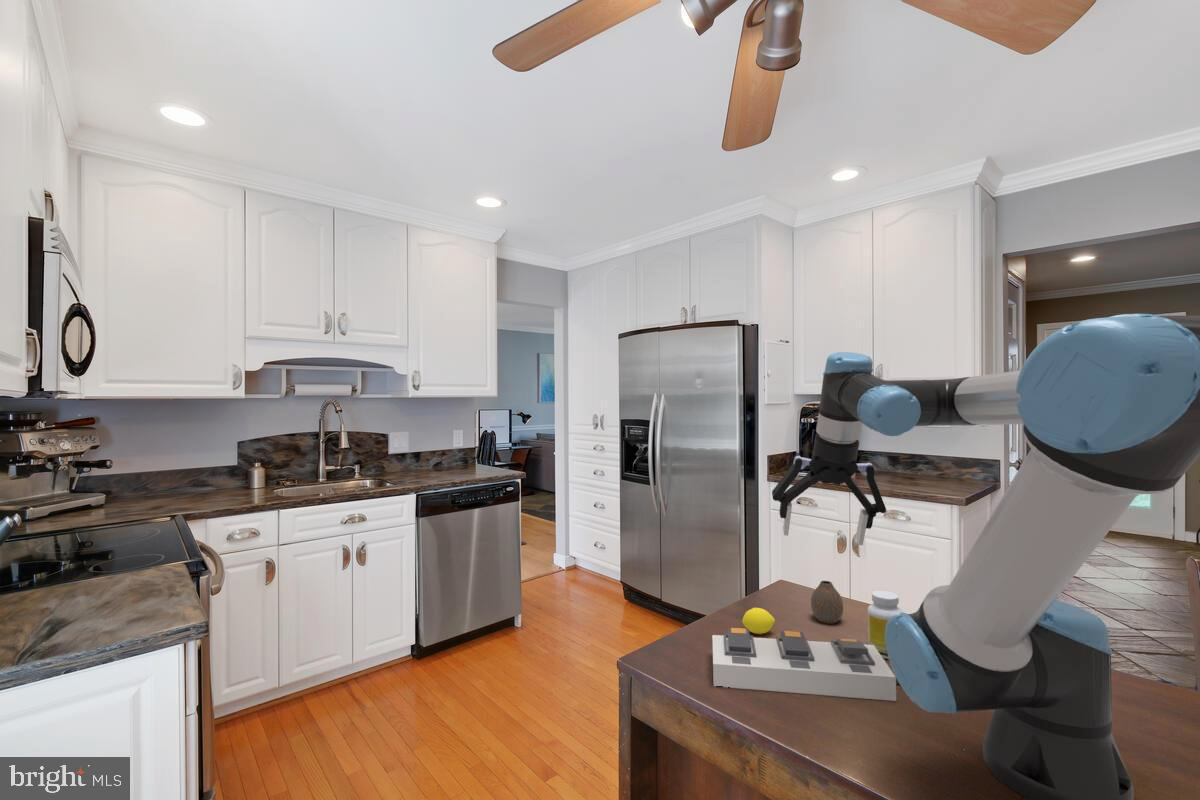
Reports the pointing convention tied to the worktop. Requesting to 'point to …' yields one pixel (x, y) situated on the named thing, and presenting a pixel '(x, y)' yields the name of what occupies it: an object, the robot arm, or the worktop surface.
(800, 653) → the dark grey flat block
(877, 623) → the pill bottle
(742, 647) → the rocker
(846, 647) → the rocker
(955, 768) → the worktop surface
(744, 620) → the lemon
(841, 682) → the rocker switch box
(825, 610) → the vase
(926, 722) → the worktop surface
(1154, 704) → the worktop surface
